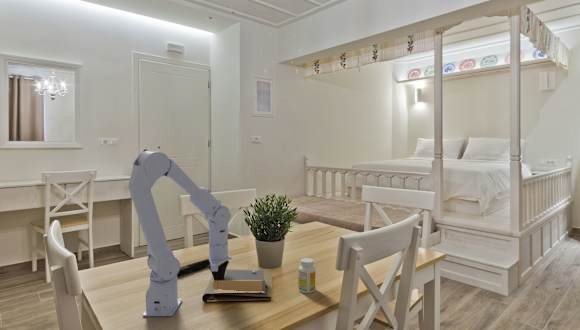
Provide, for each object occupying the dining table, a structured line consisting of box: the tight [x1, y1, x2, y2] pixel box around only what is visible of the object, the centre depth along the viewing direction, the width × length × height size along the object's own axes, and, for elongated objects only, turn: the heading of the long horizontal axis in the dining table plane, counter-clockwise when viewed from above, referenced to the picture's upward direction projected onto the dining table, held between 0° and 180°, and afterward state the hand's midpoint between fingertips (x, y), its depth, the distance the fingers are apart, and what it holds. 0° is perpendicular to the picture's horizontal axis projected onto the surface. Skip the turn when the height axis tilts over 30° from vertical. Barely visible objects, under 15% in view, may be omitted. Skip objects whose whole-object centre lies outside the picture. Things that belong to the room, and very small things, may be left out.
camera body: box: [224, 269, 265, 280], centre depth 110 cm, size 9×12×4 cm
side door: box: [212, 279, 266, 292], centre depth 105 cm, size 1×16×4 cm, turn 91°
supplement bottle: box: [297, 257, 317, 294], centre depth 108 cm, size 5×5×10 cm
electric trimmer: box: [177, 258, 210, 279], centre depth 124 cm, size 4×16×3 cm, turn 138°
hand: (219, 285), depth 107 cm, fingers closed, pressing on camera body
